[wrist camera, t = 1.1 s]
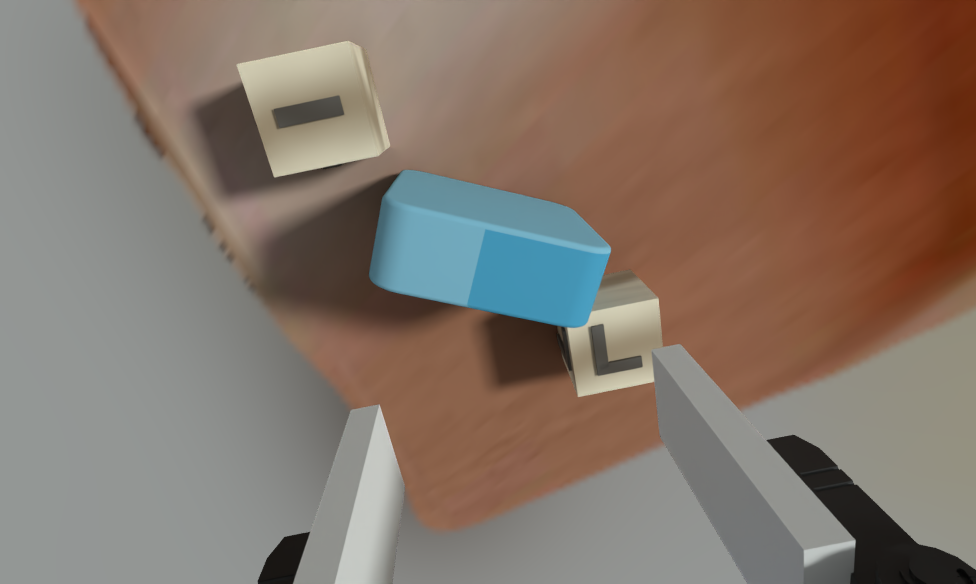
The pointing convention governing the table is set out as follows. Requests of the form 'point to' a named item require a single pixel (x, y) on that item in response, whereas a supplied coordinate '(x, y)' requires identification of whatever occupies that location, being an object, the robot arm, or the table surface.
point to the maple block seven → (614, 337)
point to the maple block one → (315, 107)
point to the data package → (487, 250)
